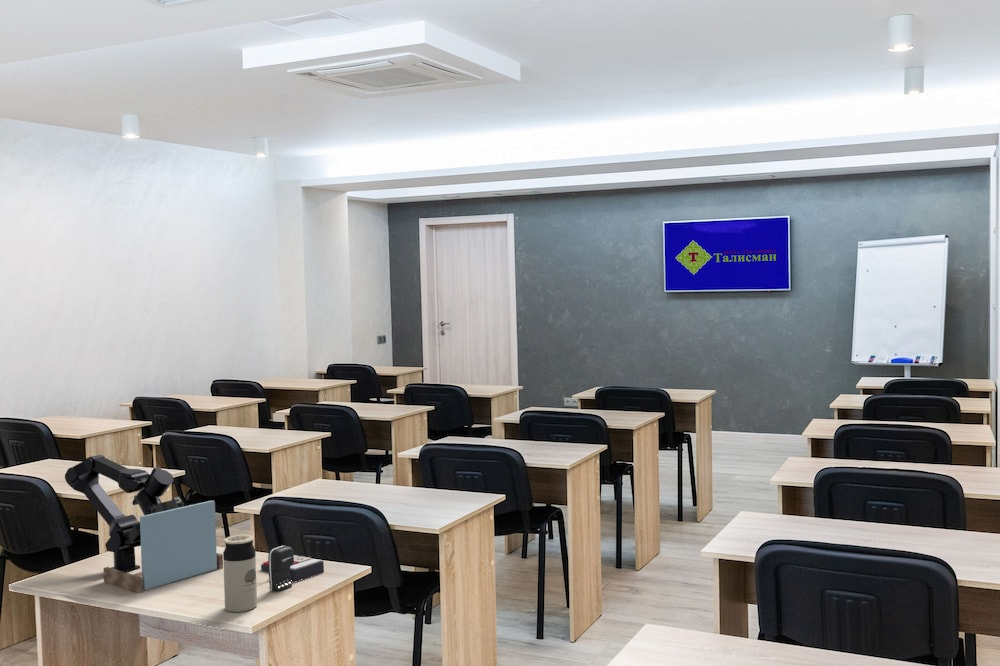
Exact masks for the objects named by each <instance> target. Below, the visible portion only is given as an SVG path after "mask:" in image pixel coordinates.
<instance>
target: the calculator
mask: <svg viewBox="0 0 1000 666" xmlns="http://www.w3.org/2000/svg"><path fill="white" fill-rule="evenodd" d="M293 555H294V564H293V565H291V567H290V578H291V580H292V582H293V581H297V582H299V580H300V581H302V580H301V579H303V580H306V579H309V578H311V576H312V577H315V576H318V575H321V574H324V573H325V567H324V561H323V560H322V559H316V558H312V557H307V556H300V555H295V554H293ZM260 570H261V571H263V572H268V573H269V567H268V561H263V563H262V564H260ZM323 572H324V573H323ZM320 573H321V574H320ZM317 574H318V575H317ZM314 575H315V576H314ZM308 577H309V578H308ZM305 578H306V579H305Z"/></svg>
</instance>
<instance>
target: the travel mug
mask: <svg viewBox="0 0 1000 666" xmlns="http://www.w3.org/2000/svg"><path fill="white" fill-rule="evenodd" d="M254 540H255V536H253V535H251V534H250V535H249V534H238V535H231V536H227V537H226V538H224V540H223V542H224V544H225V548H224V550H223V552H222V553H223V586H224V587H223V590H224V609H225V610H226V611H228V612H232V613H242V612H243V611H244V612H248V611H251V610H253V609H255V608H256V607H257V606H258V591H257V589H258V588H257V587H258V586H257V585H258V584H257V562H256V561H257V558H256V556H257V555H256V554H257V553H256V547H255V546H254V545H253V543H254Z"/></svg>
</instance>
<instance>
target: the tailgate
mask: <svg viewBox="0 0 1000 666" xmlns="http://www.w3.org/2000/svg"><path fill="white" fill-rule="evenodd" d="M215 501H216V500H208V501H204V502H198V503H195V504H190V505H185V506H183V507H180V508H176V509H171V510H167V511H162V512H158V513H153V514H149V515H144V514H143V515H141V516H139V522H140V534H141V546H140V553H141V554H140V559H141V561H140V562H141V572H142V589H143V590H147V589H150V588H153V589H155V588H154V587H157V586H160V587H162V586H161V585H164V584H167V583H170V584H172V583H171V582H174V581H177V582H179V581H178V580H181V579H184V578H187V579H189V578H188V577H191V576H194V577H196V576H195V575H198V574H201V573H204V574H206V573H205V572H208V571H211V572H213V571H212V570H215V569H217V554H216V553H217V529H216V527H217V526H216V502H215ZM215 571H216V570H215ZM208 573H209V572H208ZM201 575H202V574H201ZM198 576H199V575H198ZM191 578H192V577H191ZM184 580H185V579H184ZM181 581H182V580H181ZM174 583H175V582H174ZM167 585H168V584H167ZM164 586H165V585H164ZM157 588H158V587H157ZM150 590H151V589H150ZM147 591H148V590H147Z"/></svg>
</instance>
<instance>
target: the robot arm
mask: <svg viewBox="0 0 1000 666" xmlns="http://www.w3.org/2000/svg"><path fill="white" fill-rule="evenodd" d="M100 475H102V476H104V477H106V478H108V479H110V480H112V481H114V482H116V483H117V484H118V485H117V486H118V487H119V488H120V489H121V490H122V491H123V492H124V493H126V494H132V493H137V494H136V495H134V496H133V500H132V506H137V505H138V506H139V508H140V510H141V512H142V513H143V516H144V515H149V514H153V513H158V512H162V511H167V510H171V509H176V508H180V507H184V503H183V500H182V499H181V498H180V496H176V497H173V498H172V499H171V500H166V501H163V502H162V500H161V499H160V497H163V496H164V495H165V493H166V492H167V490H168V489H169V488H170V486H171V485H172V484H173V482H174V476H173V474H172V473H170V472H169V471H167V470H165V469H162V468H161V467H160V466H158V467H157V466H156V467H153V469H152V470H151V472H150V473H149V472H148V471H147V470H145V469H144V470H143V469H139V468H128V467H126V466H124V465H121V464H120V463H117V462H115V461H113V460H111V459H109V458H106V456H104V455H102V454H98V455H93V456H89V457H87V458H85V459H84V460H83V461H81V462H78V464H75V465H74V466H70V467H68V469H67V470H66V472H65V474H64V480H65V482H66V483H67V485H68V486H69V487H71V489H72V490H74V491H76V492H79V493H82V494H83V495H84V496H85V497H86V498H87V499H88V501H89V502H90V503H91V504H92V506H93V507H94V508H95V510H96V511H97V512H98V513H99V515H100V517H102V519H103V520H104V521H105V522H106V524H108V526H109V528H108V529H109V531H108V535H109V538H108V540H107V541H105V542H106V543H105V550H106V551H107V552H109V553H110V552H112V553H113V566H111V567H110V568H113V569H116V570H119V571H123V572H126V573H127V572H130V571H132V570H137V569H140V568H141V565H137V564H136V551H135V548H137V547H141V534H140V520H138V519H137V517H136V516H135V515H134V514H129V515H126V514H123V512H122V510H120V508H119V507H118V506H117V505H116V503H115V502H114V501H113V499H112V498H111V497H110V496H109V494H108V493H107V492H106V491H105V489H104V488H103V487H102V486H101V485H100V483H99V480H100V479H99V478H100Z"/></svg>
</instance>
